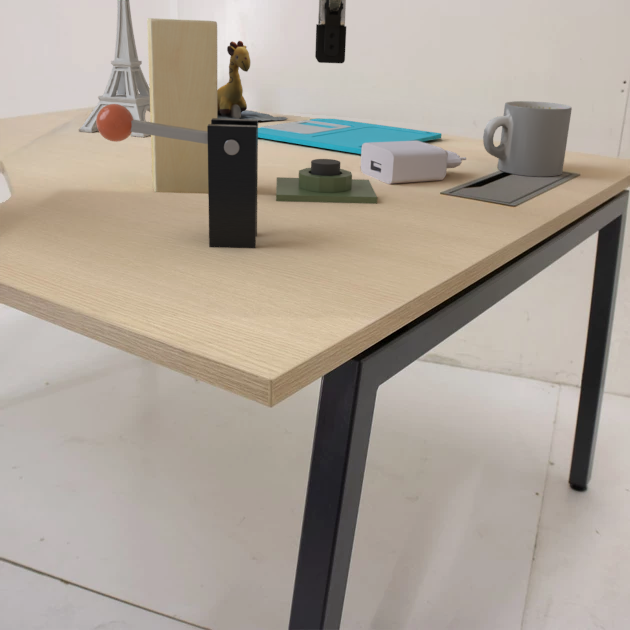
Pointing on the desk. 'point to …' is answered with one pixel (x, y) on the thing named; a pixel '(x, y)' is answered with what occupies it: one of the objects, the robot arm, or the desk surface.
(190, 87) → the tall wooden block
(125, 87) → the eiffel tower
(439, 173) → the charger
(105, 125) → the lever
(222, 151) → the bracket
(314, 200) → the control block
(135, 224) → the desk surface
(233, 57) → the stuffed giraffe
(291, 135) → the diskette
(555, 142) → the coffee mug
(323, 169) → the button
